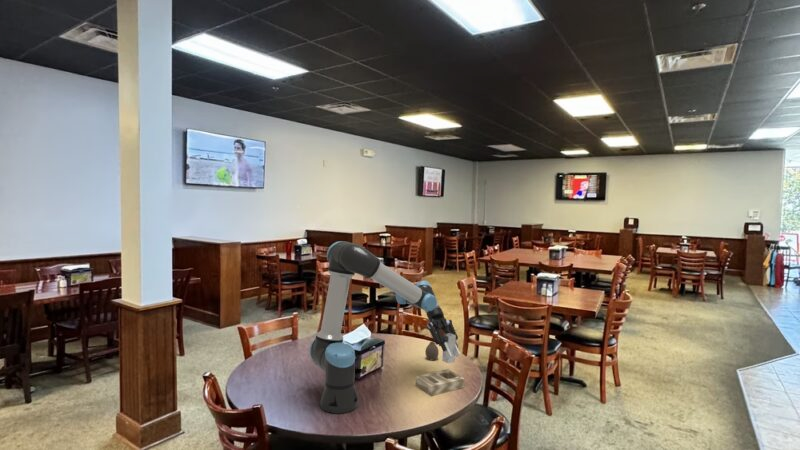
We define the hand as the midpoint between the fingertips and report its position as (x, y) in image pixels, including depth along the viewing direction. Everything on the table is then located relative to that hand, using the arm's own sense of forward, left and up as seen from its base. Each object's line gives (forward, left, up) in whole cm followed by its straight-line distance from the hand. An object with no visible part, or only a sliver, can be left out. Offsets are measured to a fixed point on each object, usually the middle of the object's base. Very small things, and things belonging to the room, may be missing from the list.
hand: (454, 356), depth 188 cm
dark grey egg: (+11, +33, -14) cm, 38 cm away
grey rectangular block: (0, +4, -3) cm, 5 cm away
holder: (-5, +4, -14) cm, 15 cm away
